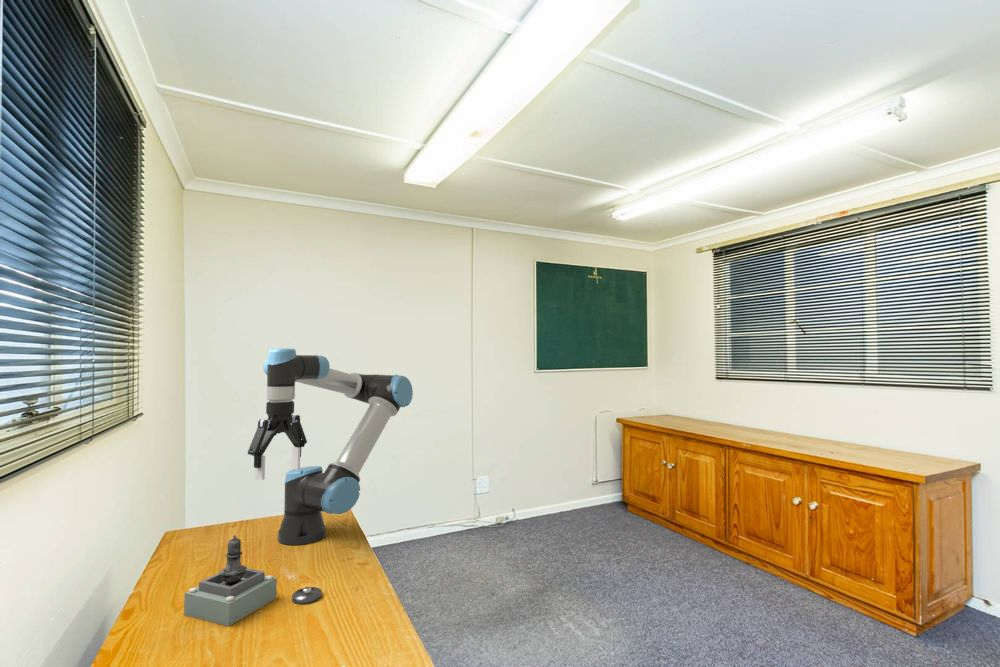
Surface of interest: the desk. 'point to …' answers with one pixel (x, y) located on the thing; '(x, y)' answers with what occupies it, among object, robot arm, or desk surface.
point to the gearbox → (229, 597)
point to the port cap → (306, 595)
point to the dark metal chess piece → (233, 564)
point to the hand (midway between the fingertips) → (278, 474)
